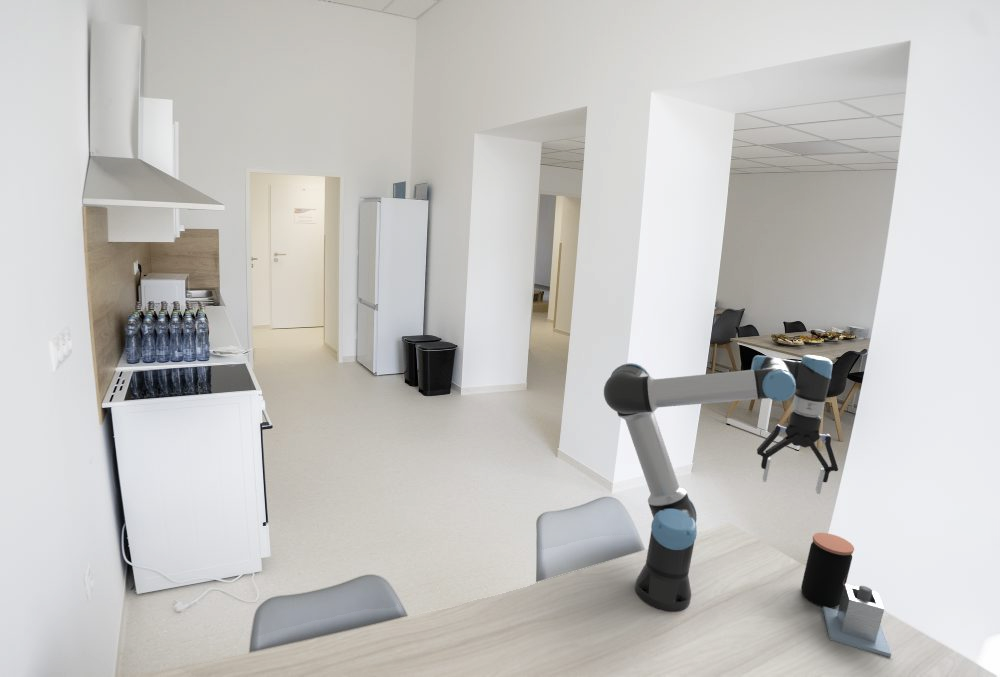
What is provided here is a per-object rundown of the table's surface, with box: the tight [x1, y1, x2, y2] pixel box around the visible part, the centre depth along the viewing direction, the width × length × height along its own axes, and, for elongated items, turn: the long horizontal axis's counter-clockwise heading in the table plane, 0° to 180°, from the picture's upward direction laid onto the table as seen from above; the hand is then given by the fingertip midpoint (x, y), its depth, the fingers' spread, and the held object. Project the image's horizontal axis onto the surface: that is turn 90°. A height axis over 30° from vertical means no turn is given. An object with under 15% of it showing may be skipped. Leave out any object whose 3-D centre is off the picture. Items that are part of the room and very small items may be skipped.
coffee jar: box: [800, 532, 855, 609], centre depth 180 cm, size 11×11×18 cm
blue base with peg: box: [822, 585, 892, 658], centre depth 166 cm, size 14×14×13 cm
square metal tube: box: [837, 583, 885, 643], centre depth 166 cm, size 8×8×10 cm
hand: (790, 485), depth 172 cm, fingers open, 13 cm apart
